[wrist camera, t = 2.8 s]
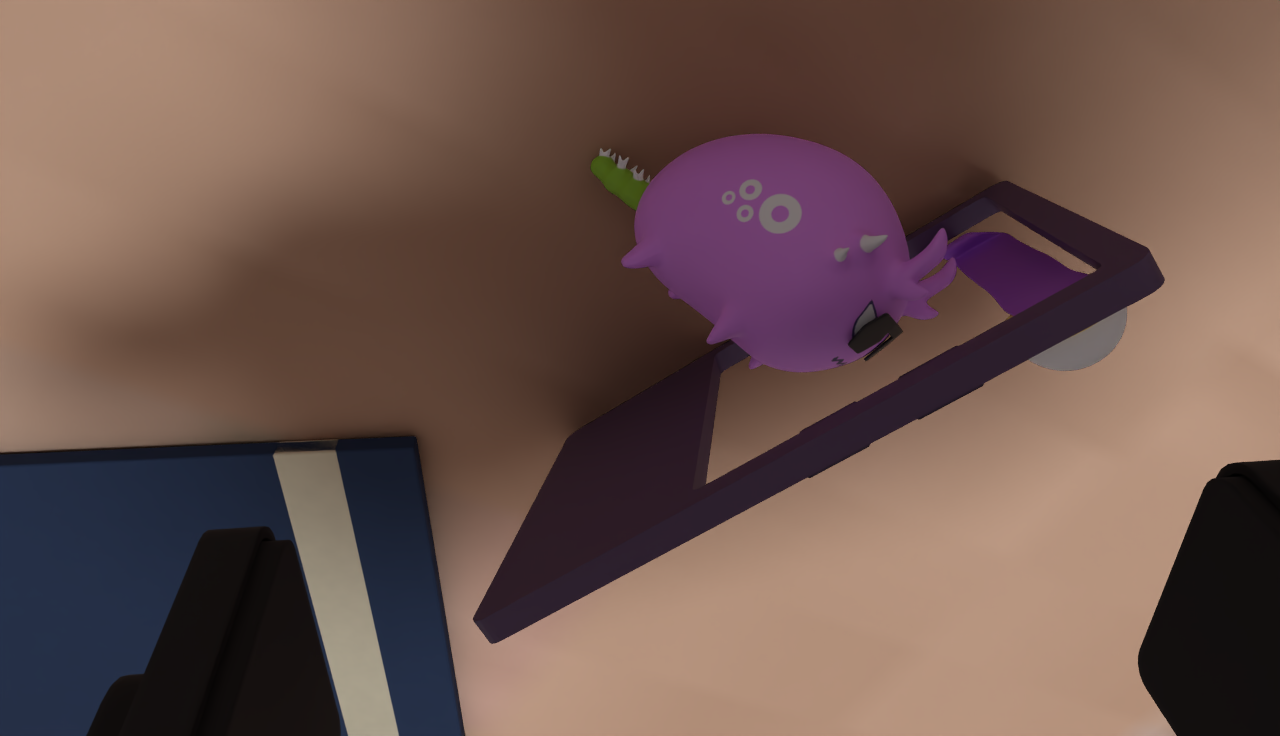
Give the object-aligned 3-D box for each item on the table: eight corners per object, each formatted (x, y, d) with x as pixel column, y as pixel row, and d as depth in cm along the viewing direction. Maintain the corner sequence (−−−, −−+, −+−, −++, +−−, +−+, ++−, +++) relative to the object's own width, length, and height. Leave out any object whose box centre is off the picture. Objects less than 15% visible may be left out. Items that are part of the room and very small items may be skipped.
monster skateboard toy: (519, 693, 13) (1204, 341, 10) (268, 361, 12) (962, -111, 9) (600, 481, 19) (1034, 234, 17) (444, 255, 18) (881, -39, 16)
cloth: (416, 434, 18) (413, 448, 18) (476, 806, 25) (475, 821, 25) (-483, 474, 18) (-504, 490, 17) (-174, 848, 24) (-185, 865, 24)
